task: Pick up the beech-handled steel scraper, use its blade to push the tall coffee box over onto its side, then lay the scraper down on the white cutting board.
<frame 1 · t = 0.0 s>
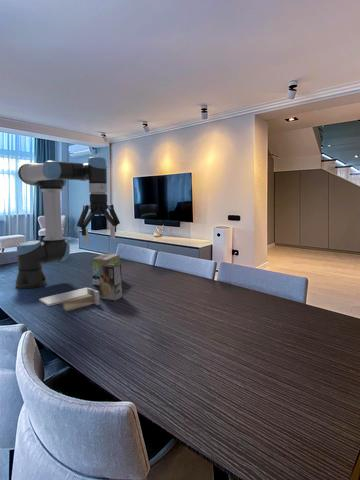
hand: (99, 241, 136), 28 cm above the table, tool pointing down, fingers open, 13 cm apart
scraper: (79, 306, 133), on the table
coffee box: (111, 297, 145), on the table
cutting board: (69, 297, 145), on the table
tea box: (106, 282, 171), on the table
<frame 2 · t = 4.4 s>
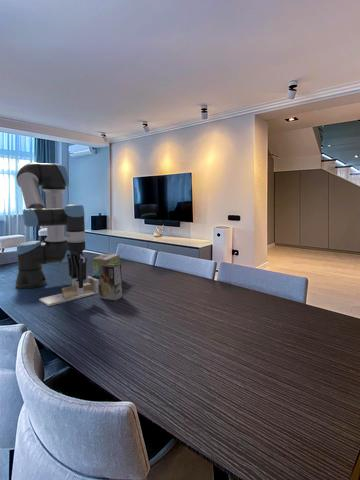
hand: (78, 293, 133), 6 cm above the table, tool pointing down, fingers closed on scraper, 3 cm apart
scraper: (78, 294, 133), point 5 cm above the table, touching gripper
everything else where it was.
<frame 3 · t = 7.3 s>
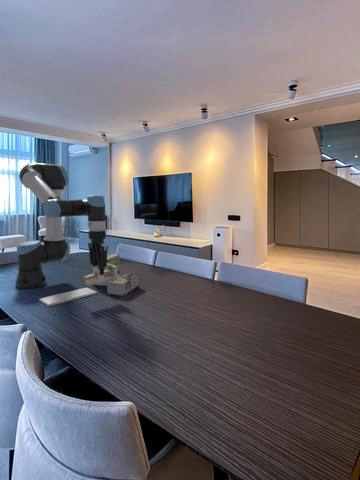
hand: (98, 280, 139), 10 cm above the table, tool pointing down, fingers closed on scraper, 3 cm apart
scraper: (99, 281, 139), point 9 cm above the table, tilted 6°, touching gripper
coffee box: (114, 289, 147), point 3 cm above the table
everything else where it was.
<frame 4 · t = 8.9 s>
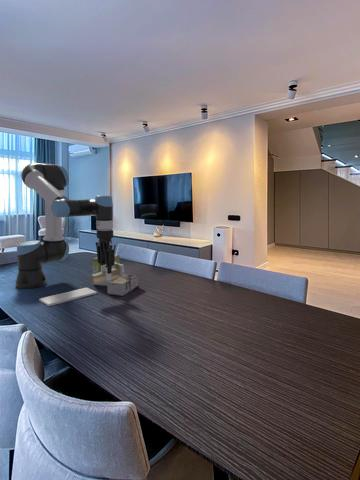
hand: (106, 279, 142), 10 cm above the table, tool pointing down, fingers closed on scraper, 3 cm apart
scraper: (106, 279, 142), point 9 cm above the table, tilted 6°, touching gripper
everything else where it was.
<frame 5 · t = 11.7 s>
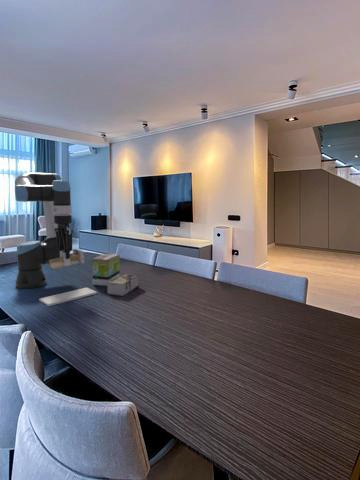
hand: (65, 264, 142), 16 cm above the table, tool pointing down, fingers closed on scraper, 3 cm apart
scraper: (65, 265, 142), point 16 cm above the table, tilted 6°, touching gripper
everything else where it was.
when the fingers open (1 cm above the table, at t = 14.0 s): scraper stays where it is, resting on cutting board.
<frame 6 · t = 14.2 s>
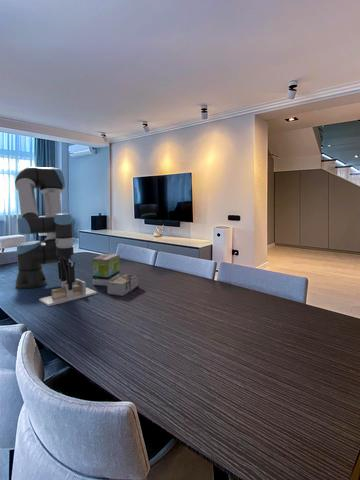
hand: (67, 295, 144), 1 cm above the table, tool pointing down, fingers open, 4 cm apart
scraper: (67, 295, 144), point 1 cm above the table, touching cutting board
everything else where it was.
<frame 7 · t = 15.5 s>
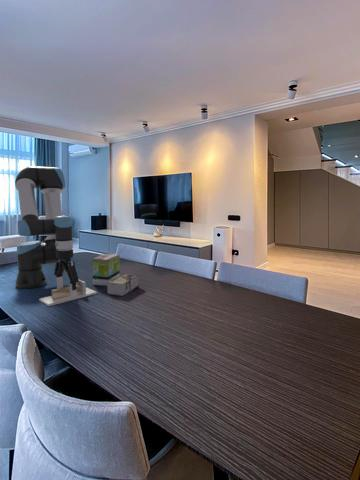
hand: (66, 293, 144), 2 cm above the table, tool pointing down, fingers open, 13 cm apart
nothing on the table moved.
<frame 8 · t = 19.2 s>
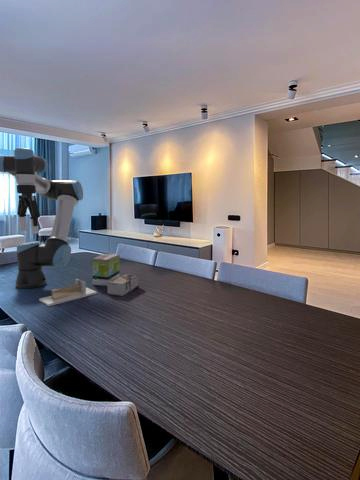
hand: (29, 232, 137), 32 cm above the table, tool pointing down, fingers open, 13 cm apart
nothing on the table moved.
at the end: coffee box tilted 90°; scraper inside the target area on the cutting board (0.2 cm from its centre), point 1.0 cm above the cutting board's base; the gripper is holding nothing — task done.
